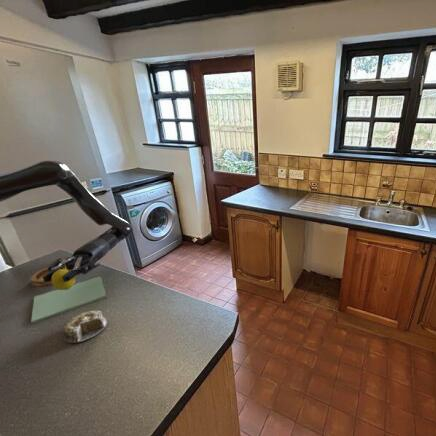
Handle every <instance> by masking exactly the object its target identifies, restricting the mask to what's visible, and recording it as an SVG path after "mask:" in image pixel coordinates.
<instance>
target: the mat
mask: <svg viewBox="0 0 436 436" xmlns="http://www.w3.org/2000/svg"><path fill="white" fill-rule="evenodd" d="M105 298H107V296H106V291H105V287H104V283H103V278H102V276H100V275H99V276H97V277H93V278H90V279H86V280H84V281H81V282H80V281H79V282H77V283H74V285H73V286H72V287H71V288H69V289H68V290H59V289H55V290H52V291H48V292H45V293H41V294H38V295H35V296H34V297H33V304H32V312H31V319H30V322H31V324H35V323H38V322H41V321H44V320H46V319H49V318H52V317H55V316H57V315H60V314H62V313H63V314H64V313H66V312H68V311H69V312H70V311H71V310H74V309H77V308H79V307H82V306H85V305H88V304H91V303H93V302H97V301H100V300H102V299H105Z"/></svg>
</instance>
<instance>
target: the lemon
mask: <svg viewBox="0 0 436 436" xmlns="http://www.w3.org/2000/svg"><path fill="white" fill-rule="evenodd" d="M69 271H70V270H67V269H59V270H58V271H56V272H55V273H54V274H53V275H52V279H51V280H52V284H51V285H52V286H53V287H54V288H55V289H56V290H58V289H59V290H68V289H69V288H71V287H72V286H73V285H74V284H76V276H75V277H74V278H72V279H71V280H69V281H68V282H64V280H63V276H64V275H65V274H67V273H68V272H69Z"/></svg>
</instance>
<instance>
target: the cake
mask: <svg viewBox="0 0 436 436" xmlns="http://www.w3.org/2000/svg"><path fill="white" fill-rule="evenodd" d="M107 325H108V319H107V318H106V317H104V316H103V313H102V311H100V310H90V311H85V312H82V313H81V314H77V315H75V316H73V317H72V318H71V319H70V320H68V321H67V322H66V323H64V325H63V326H62V331H63V341H64V342H65V343H67V344H77V343H81V342H84V341H87V340H90V339H91V338H93V337H95V336H97V335H98V334H99V333H102V331H103V330H104V329H105V328H106V327H107Z"/></svg>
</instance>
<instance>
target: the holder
mask: <svg viewBox="0 0 436 436" xmlns="http://www.w3.org/2000/svg"><path fill="white" fill-rule="evenodd" d="M64 266H65V269H67V268H66V265H64ZM60 269H61V268H60ZM70 271H71V270H70ZM48 272H49V270H48V267H45V268H42V269H40V270H39V271H37V272H35V273H34V274H31V276H30V283H31V285H32V286H33V287H47V286H51V285H53V284H52V280H50V281H49V282H44V280H43V276H44V275H45V274H47V273H48Z"/></svg>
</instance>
